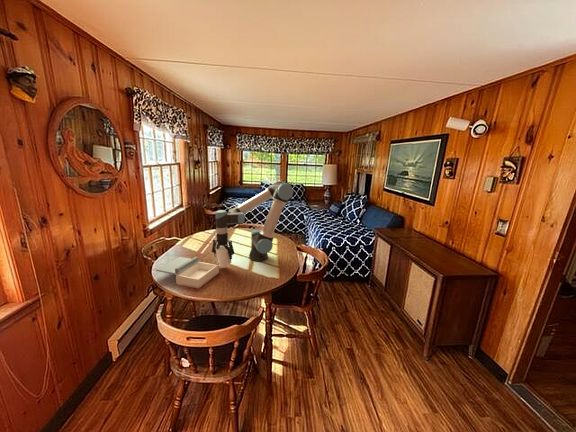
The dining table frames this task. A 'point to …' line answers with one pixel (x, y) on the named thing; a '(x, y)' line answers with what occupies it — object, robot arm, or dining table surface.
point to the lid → (178, 265)
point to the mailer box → (197, 275)
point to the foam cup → (222, 256)
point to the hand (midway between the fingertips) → (223, 262)
